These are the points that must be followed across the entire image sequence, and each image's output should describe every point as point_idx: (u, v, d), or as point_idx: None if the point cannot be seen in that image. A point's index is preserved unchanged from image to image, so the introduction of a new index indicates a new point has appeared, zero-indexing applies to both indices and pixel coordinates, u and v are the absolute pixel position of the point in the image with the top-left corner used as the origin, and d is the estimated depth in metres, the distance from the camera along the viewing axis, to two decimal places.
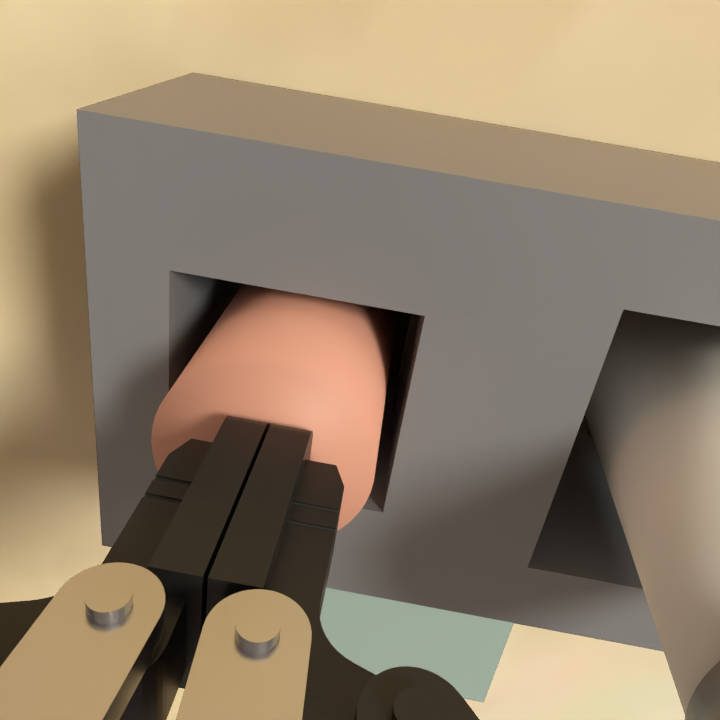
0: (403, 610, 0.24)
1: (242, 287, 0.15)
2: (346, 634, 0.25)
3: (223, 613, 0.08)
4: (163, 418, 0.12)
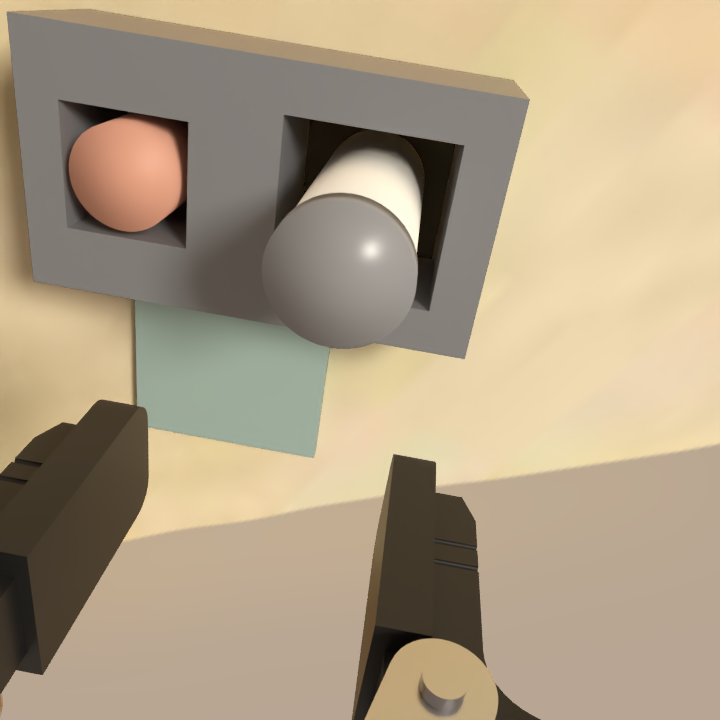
0: (250, 382, 0.35)
1: None
2: (215, 404, 0.36)
3: (403, 666, 0.07)
4: (73, 157, 0.25)
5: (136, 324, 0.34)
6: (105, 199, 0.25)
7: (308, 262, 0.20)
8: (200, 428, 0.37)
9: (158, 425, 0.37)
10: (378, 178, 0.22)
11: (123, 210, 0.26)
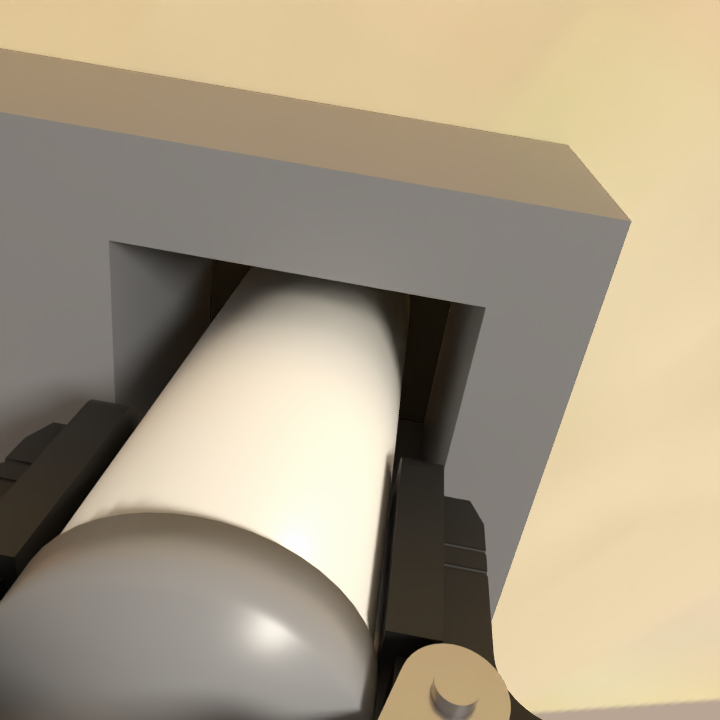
0: None
1: None
2: None
3: (414, 671, 0.07)
4: None
5: None
6: None
7: (82, 696, 0.07)
8: None
9: None
10: (296, 399, 0.10)
11: None
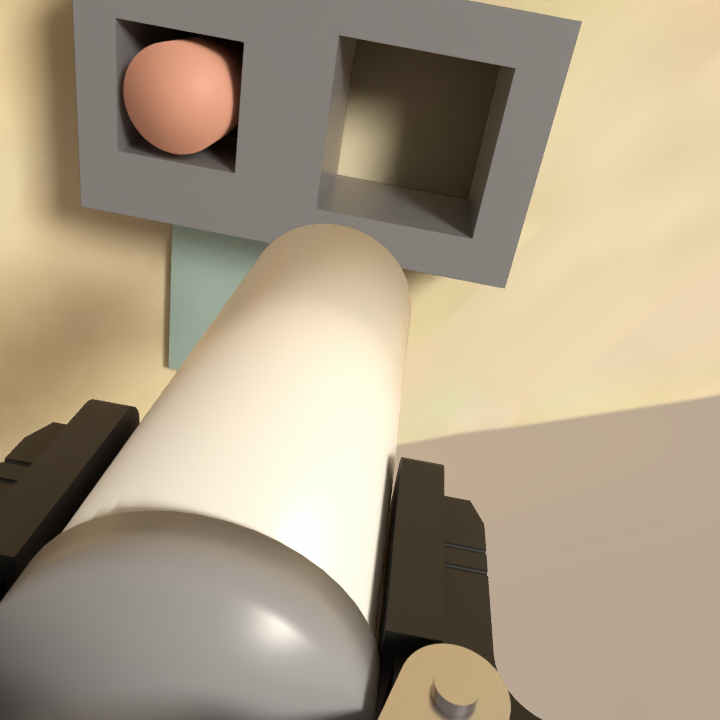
0: None
1: None
2: None
3: (414, 671, 0.07)
4: (128, 76, 0.25)
5: (172, 263, 0.35)
6: (158, 120, 0.26)
7: (84, 694, 0.07)
8: None
9: None
10: (297, 397, 0.10)
11: (175, 132, 0.26)
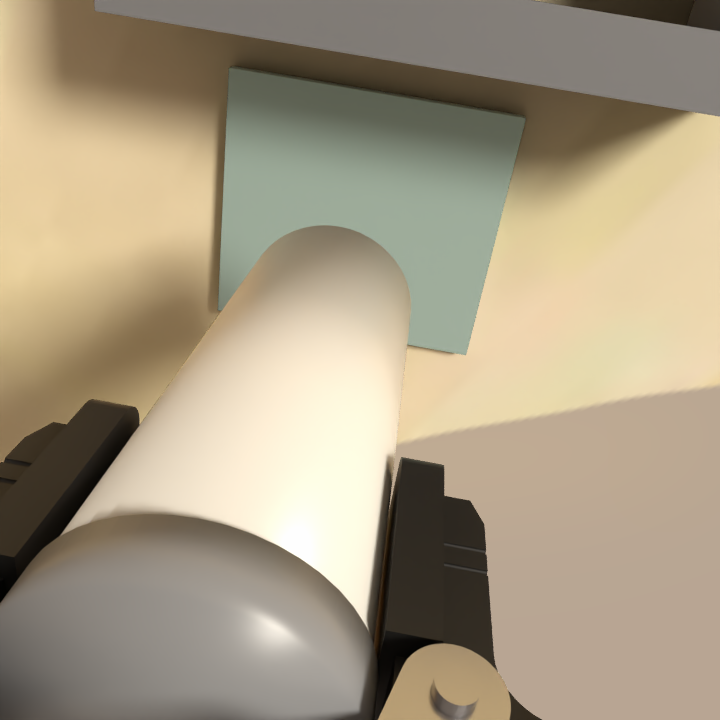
0: (387, 239, 0.25)
1: None
2: None
3: (414, 671, 0.07)
4: None
5: (226, 149, 0.24)
6: None
7: (82, 698, 0.07)
8: None
9: None
10: (296, 400, 0.10)
11: None
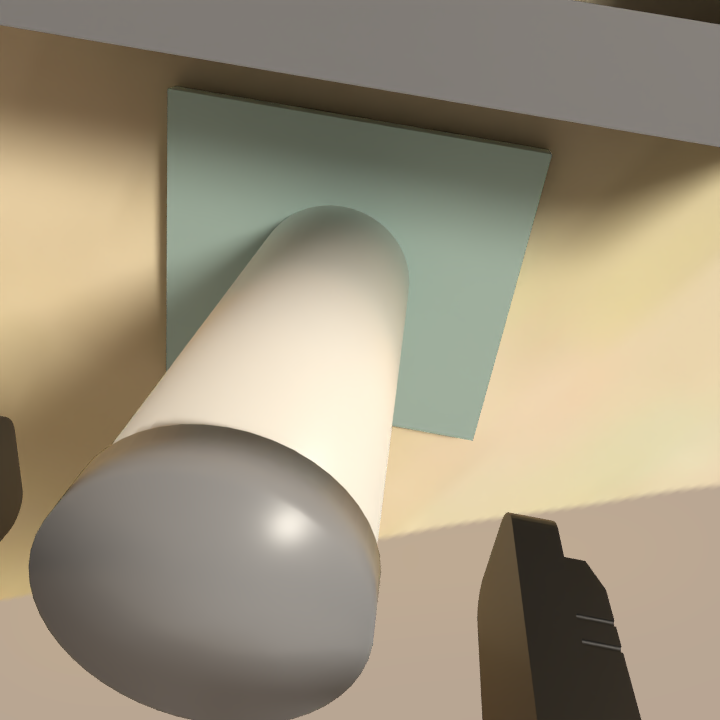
0: None
1: None
2: None
3: None
4: None
5: (169, 191, 0.19)
6: None
7: (129, 581, 0.09)
8: None
9: None
10: (306, 344, 0.11)
11: None
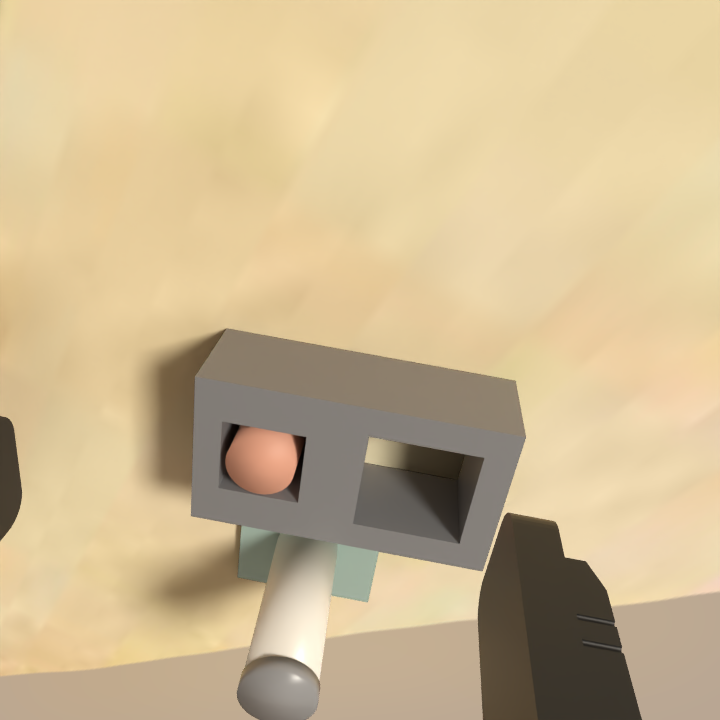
0: None
1: None
2: None
3: None
4: (229, 453, 0.38)
5: None
6: (247, 476, 0.39)
7: (261, 692, 0.38)
8: None
9: (253, 577, 0.51)
10: (298, 618, 0.40)
11: (259, 482, 0.39)
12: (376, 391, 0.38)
